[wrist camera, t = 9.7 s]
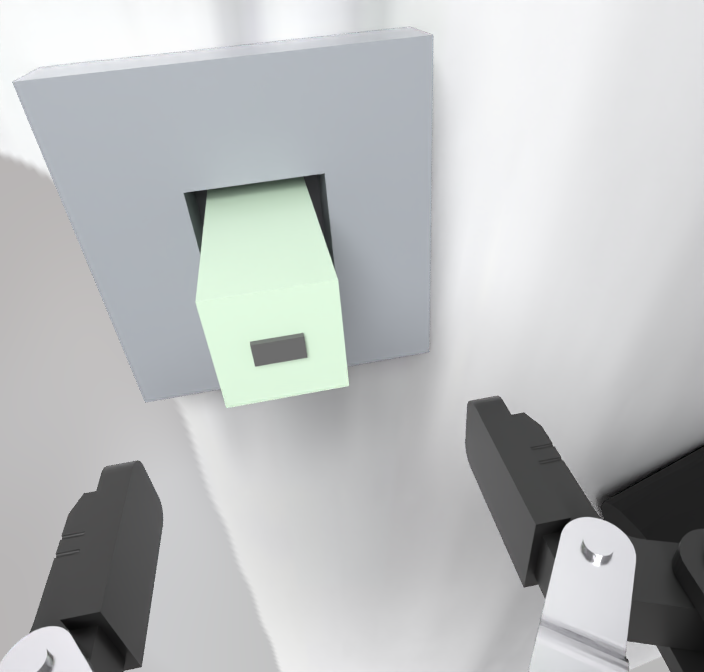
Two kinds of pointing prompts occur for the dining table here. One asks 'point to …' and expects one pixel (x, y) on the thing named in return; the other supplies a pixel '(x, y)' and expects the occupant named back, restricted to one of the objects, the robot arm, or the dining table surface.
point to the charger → (269, 294)
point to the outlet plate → (245, 180)
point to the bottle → (662, 502)
